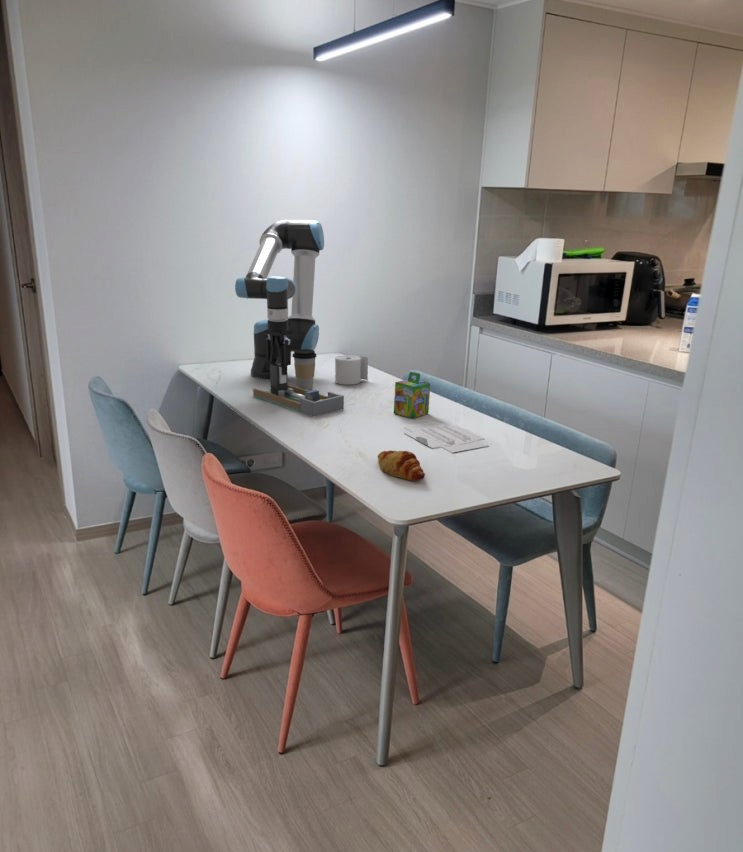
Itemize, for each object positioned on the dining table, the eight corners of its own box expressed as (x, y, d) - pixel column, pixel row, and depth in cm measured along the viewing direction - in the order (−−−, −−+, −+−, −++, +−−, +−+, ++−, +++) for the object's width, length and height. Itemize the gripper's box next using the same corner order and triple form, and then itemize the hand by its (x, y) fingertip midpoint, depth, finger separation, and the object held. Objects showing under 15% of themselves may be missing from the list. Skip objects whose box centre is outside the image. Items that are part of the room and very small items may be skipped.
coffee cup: (318, 386, 285) (318, 349, 280) (314, 392, 276) (314, 354, 271) (295, 384, 285) (294, 348, 281) (290, 391, 277) (290, 353, 272)
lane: (282, 389, 278) (282, 381, 277) (330, 405, 259) (330, 395, 258) (253, 396, 268) (252, 387, 267) (301, 412, 250) (300, 402, 249)
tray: (444, 422, 244) (445, 412, 243) (496, 450, 222) (498, 439, 220) (394, 430, 234) (394, 420, 233) (443, 460, 212) (444, 449, 211)
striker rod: (281, 390, 271) (280, 362, 268) (319, 402, 256) (319, 373, 253) (270, 393, 268) (269, 364, 264) (308, 405, 253) (308, 375, 250)
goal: (329, 404, 260) (329, 391, 258) (343, 409, 255) (343, 395, 253) (300, 412, 250) (299, 398, 248) (314, 416, 245) (313, 402, 243)
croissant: (371, 473, 206) (360, 452, 202) (396, 452, 209) (386, 431, 205) (415, 497, 189) (404, 475, 185) (441, 474, 192) (431, 452, 188)
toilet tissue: (329, 381, 293) (329, 357, 290) (351, 376, 300) (351, 353, 297) (346, 386, 285) (346, 361, 282) (368, 381, 293) (369, 357, 290)
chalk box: (392, 413, 251) (394, 372, 246) (409, 408, 257) (411, 368, 252) (413, 419, 245) (414, 377, 240) (429, 414, 251) (431, 373, 246)
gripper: (255, 317, 263) (257, 379, 270) (284, 324, 251) (285, 388, 258) (271, 315, 268) (272, 375, 275) (300, 321, 256) (301, 384, 264)
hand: (278, 381), depth 267 cm, fingers closed on striker rod, 4 cm apart
